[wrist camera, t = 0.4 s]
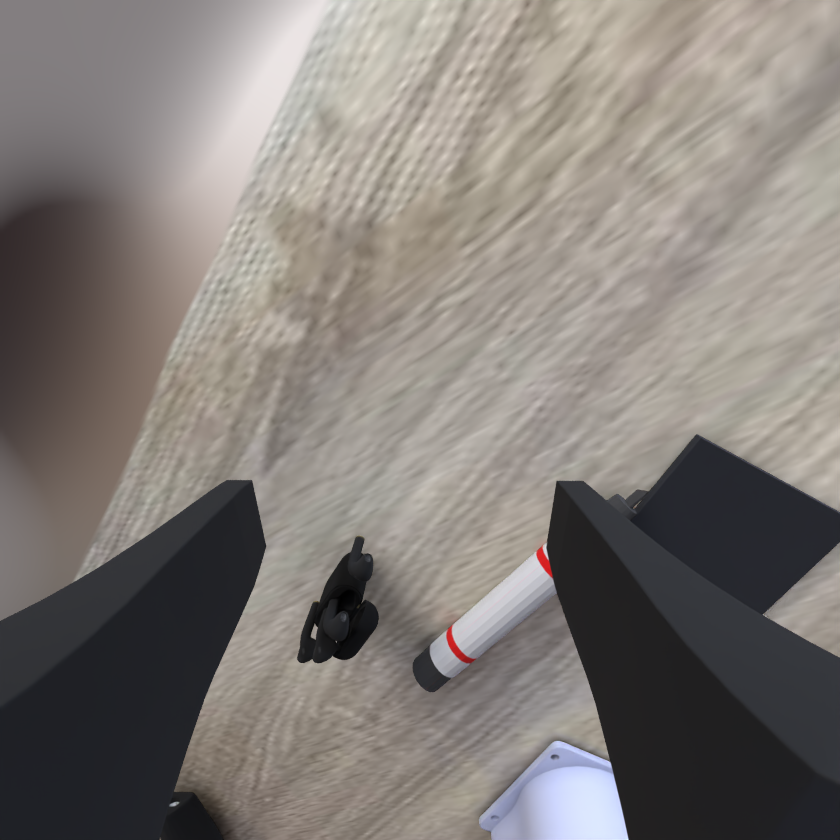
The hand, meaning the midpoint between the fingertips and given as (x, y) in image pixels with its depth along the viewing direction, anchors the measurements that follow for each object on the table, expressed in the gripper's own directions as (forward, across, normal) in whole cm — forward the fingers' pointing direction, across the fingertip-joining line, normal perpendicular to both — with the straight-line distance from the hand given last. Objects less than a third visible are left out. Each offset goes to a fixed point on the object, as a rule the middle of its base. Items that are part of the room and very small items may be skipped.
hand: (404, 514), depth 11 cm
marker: (+9, -5, +11) cm, 15 cm away
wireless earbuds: (+9, +3, +11) cm, 15 cm away
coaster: (+8, -14, +9) cm, 19 cm away
